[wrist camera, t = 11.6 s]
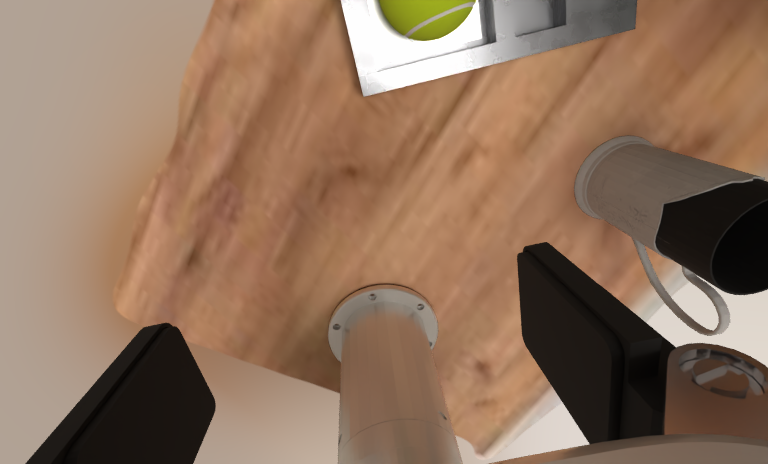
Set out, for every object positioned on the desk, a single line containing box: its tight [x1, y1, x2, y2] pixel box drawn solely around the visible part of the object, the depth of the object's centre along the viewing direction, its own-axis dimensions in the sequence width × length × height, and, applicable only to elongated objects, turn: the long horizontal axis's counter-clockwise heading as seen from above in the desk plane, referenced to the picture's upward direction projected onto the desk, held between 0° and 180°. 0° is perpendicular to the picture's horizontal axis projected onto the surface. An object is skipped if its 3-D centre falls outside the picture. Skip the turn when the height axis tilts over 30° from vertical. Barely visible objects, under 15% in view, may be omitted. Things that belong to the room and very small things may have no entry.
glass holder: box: [574, 136, 768, 336], centre depth 32 cm, size 9×14×15 cm, turn 11°
